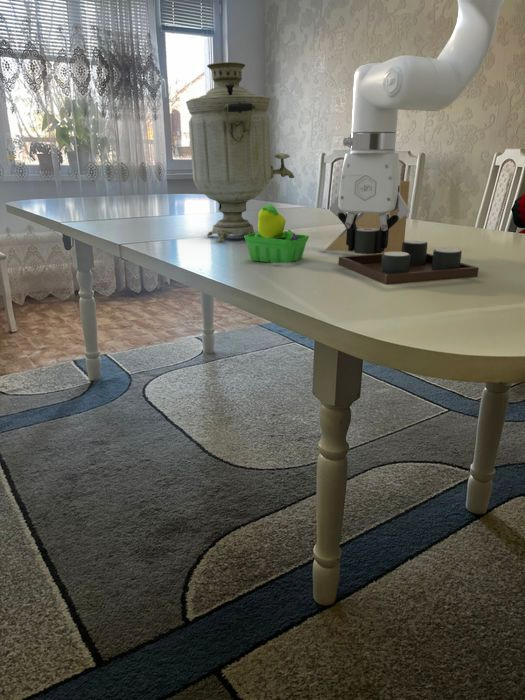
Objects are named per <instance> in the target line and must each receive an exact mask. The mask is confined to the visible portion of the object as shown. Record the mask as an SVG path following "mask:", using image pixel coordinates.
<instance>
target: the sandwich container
mask: <svg viewBox="0 0 525 700" xmlns="http://www.w3.org/2000/svg"><path fill="white" fill-rule="evenodd" d="M409 194H410V180H400V195H401V197H402V198H403V200H404V201H405V203H406V205H407V206H408V205H409ZM408 207H409V206H408ZM398 211H399V209H396V210H395V211H391V212H389V213H390V218H391V217H392V216H393V215H395V214H396V213H398ZM407 216H408V215H406V216H405V217H403V218H402V219H400V220H399V221H397V222H396V223H395V224H394V225H393V226H392V227H391V228H390V229H389V233H388V245H387V248H385V250H384V251H383V252H382V253H376V254H383V253H385V252H402V242H403V241H406V239H405V238H406V227H407V218H408V217H407ZM356 227H357V228H376V229H379V230H380V227H381V226H380V220H379V214H374V213H359V214H358V218H357V221H356ZM346 237H347V228H344V230H343V231H342V232H341V233H340V234H339V235H338V236H337V237H336V238H335V239H334V240H333V241H332V242H331V243H330V244H329V245H328V246H327V247H326V248H325V251H331V250H336V251H343V252H353V253H355V252H354V250H352V251H348V245H346Z"/></svg>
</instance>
